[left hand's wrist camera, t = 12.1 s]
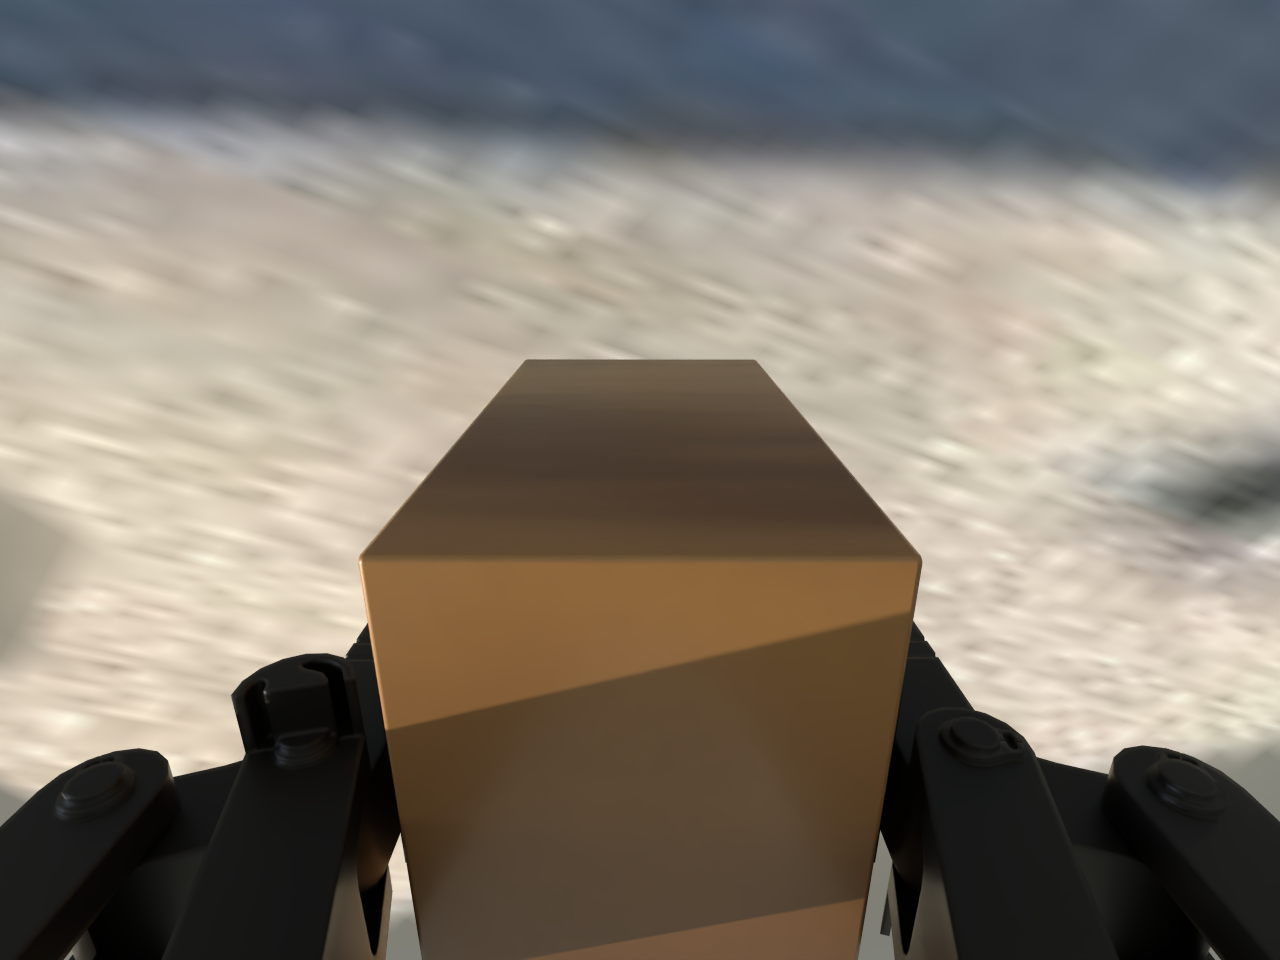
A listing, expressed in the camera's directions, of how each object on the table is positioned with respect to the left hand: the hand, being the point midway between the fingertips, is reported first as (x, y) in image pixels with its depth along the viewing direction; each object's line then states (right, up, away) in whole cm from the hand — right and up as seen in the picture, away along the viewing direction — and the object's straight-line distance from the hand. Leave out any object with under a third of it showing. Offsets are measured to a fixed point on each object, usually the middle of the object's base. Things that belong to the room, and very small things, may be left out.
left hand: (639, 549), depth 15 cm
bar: (0, -13, +5) cm, 14 cm away
